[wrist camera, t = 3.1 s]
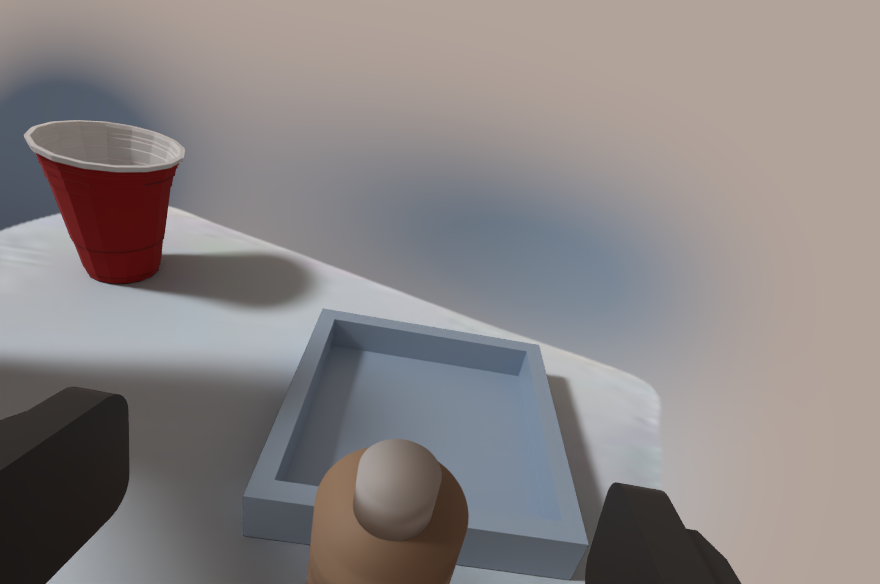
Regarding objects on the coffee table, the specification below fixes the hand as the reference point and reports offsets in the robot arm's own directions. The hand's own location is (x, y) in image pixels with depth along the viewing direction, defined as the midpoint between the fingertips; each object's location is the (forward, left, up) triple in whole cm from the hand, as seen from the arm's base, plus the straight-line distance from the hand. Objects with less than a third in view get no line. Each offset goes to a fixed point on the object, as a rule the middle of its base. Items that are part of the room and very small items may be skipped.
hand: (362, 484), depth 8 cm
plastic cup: (-25, +35, -19) cm, 47 cm away
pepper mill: (+1, +5, -19) cm, 20 cm away
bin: (+3, +20, -19) cm, 28 cm away
